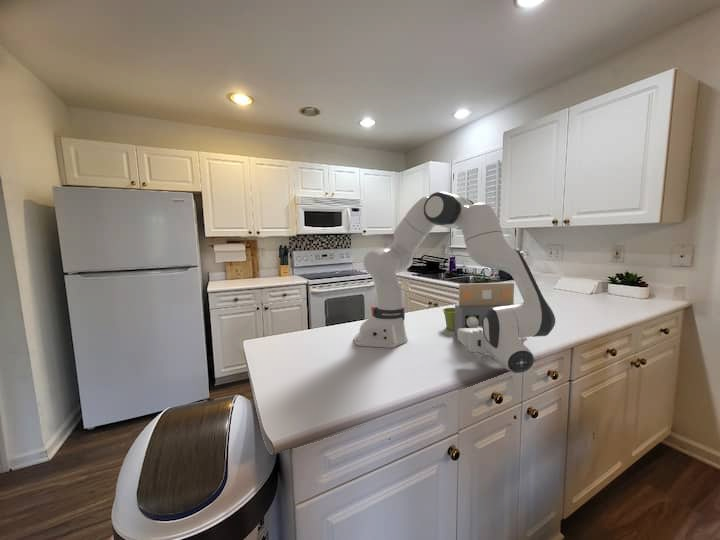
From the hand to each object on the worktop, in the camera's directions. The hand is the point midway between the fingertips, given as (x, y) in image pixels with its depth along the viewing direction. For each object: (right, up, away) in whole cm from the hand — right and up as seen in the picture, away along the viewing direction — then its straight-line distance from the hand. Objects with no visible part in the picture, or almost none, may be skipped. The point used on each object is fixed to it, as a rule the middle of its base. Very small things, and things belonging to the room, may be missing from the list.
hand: (480, 328), depth 108 cm
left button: (0, -1, +9) cm, 10 cm away
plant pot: (-1, -6, +29) cm, 30 cm away
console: (+9, -7, +14) cm, 18 cm away
